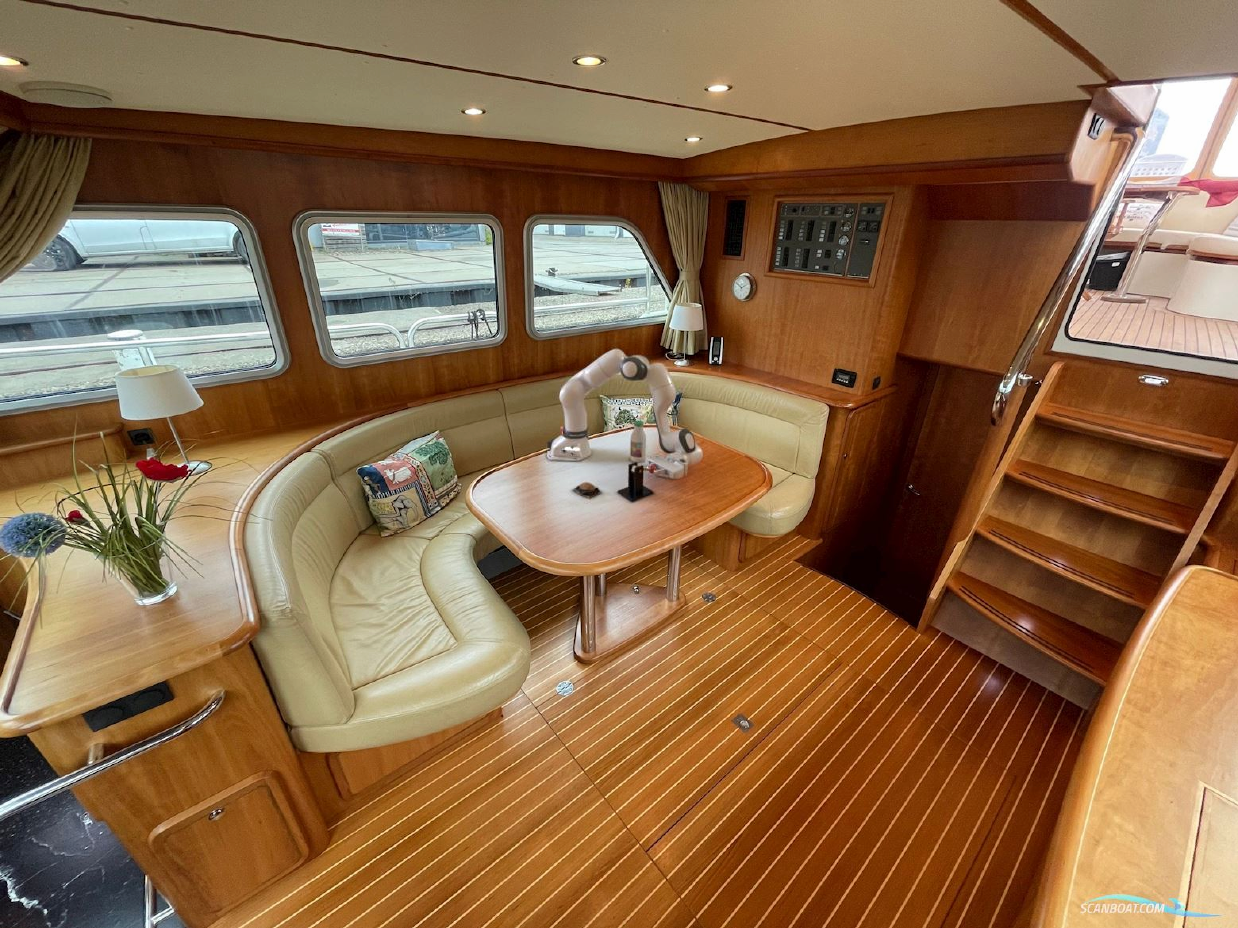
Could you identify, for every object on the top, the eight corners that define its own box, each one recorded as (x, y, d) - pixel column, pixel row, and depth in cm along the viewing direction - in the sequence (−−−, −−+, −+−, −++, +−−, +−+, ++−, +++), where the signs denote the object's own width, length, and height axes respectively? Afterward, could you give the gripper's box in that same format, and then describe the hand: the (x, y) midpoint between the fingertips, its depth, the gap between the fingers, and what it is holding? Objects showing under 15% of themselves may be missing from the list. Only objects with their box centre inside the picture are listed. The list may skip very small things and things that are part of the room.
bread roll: (571, 491, 211) (571, 483, 210) (585, 484, 217) (585, 477, 215) (588, 499, 205) (588, 491, 203) (602, 492, 210) (602, 484, 209)
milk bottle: (637, 454, 245) (638, 417, 236) (648, 459, 240) (649, 422, 231) (627, 459, 240) (627, 421, 231) (638, 464, 235) (639, 426, 226)
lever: (651, 472, 213) (653, 464, 213) (657, 475, 211) (659, 467, 210) (629, 471, 205) (632, 463, 204) (635, 474, 202) (637, 466, 201)
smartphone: (657, 476, 224) (657, 474, 223) (666, 462, 237) (666, 460, 236) (671, 478, 221) (672, 476, 221) (680, 464, 234) (680, 463, 234)
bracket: (638, 485, 216) (639, 457, 210) (653, 493, 209) (654, 465, 203) (617, 492, 210) (617, 464, 204) (631, 502, 202) (632, 473, 196)
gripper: (658, 448, 224) (636, 456, 216) (690, 464, 209) (666, 472, 202) (658, 461, 227) (635, 468, 219) (689, 476, 212) (666, 486, 204)
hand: (650, 470), depth 210 cm, fingers closed on lever, 3 cm apart
